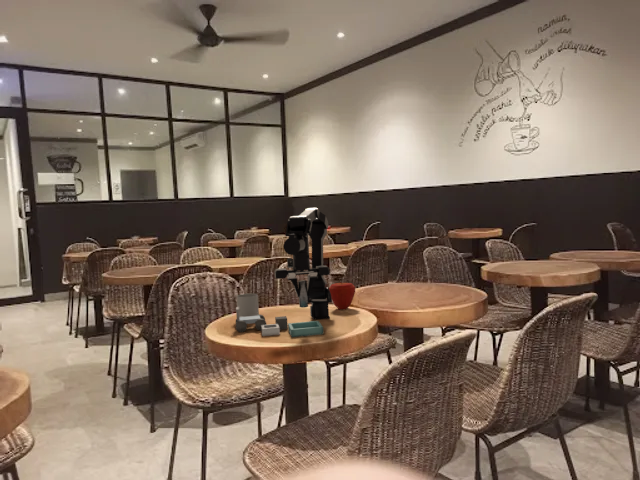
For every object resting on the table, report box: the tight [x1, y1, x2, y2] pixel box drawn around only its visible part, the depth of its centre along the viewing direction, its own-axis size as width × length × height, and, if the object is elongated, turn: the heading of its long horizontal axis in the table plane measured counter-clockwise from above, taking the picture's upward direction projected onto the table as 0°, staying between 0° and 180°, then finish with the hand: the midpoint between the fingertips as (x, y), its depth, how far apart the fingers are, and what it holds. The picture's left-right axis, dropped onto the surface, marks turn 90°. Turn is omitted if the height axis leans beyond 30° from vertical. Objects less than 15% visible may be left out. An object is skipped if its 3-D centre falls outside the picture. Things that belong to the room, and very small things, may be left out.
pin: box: [297, 280, 309, 308], centre depth 169 cm, size 3×3×9 cm
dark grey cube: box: [274, 315, 288, 331], centre depth 177 cm, size 4×4×4 cm
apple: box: [328, 281, 356, 310], centre depth 206 cm, size 11×11×12 cm
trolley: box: [235, 306, 267, 333], centre depth 179 cm, size 11×9×8 cm
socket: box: [261, 323, 281, 337], centre depth 170 cm, size 6×6×2 cm
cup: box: [236, 293, 260, 317], centre depth 193 cm, size 8×8×10 cm
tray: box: [287, 320, 324, 338], centre depth 169 cm, size 11×10×2 cm
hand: (303, 296), depth 169 cm, fingers closed on pin, 3 cm apart
